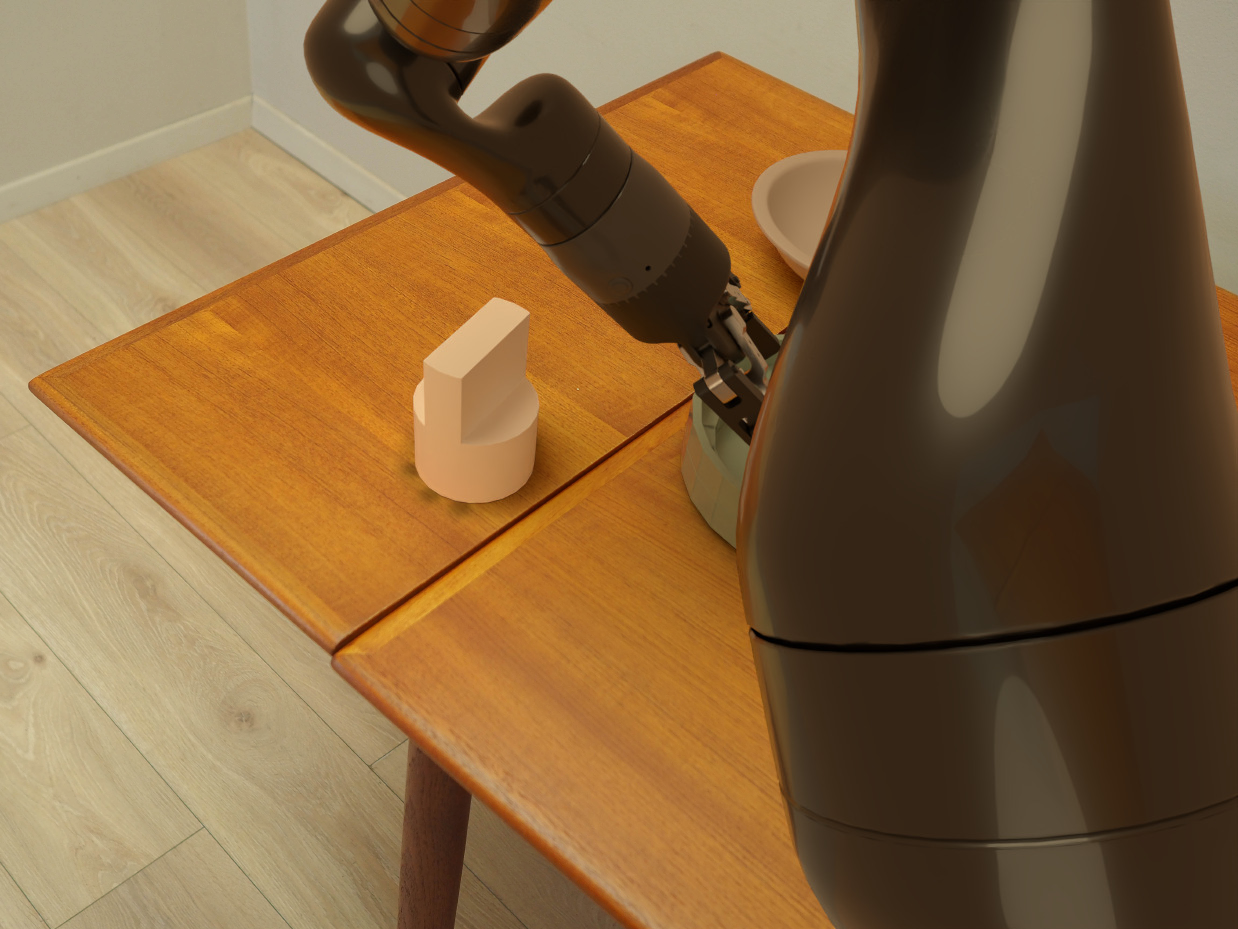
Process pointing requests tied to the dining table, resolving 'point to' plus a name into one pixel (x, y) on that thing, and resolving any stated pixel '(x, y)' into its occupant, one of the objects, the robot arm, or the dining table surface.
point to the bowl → (715, 462)
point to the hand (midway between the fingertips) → (782, 396)
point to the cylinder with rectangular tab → (478, 409)
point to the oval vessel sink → (797, 203)
